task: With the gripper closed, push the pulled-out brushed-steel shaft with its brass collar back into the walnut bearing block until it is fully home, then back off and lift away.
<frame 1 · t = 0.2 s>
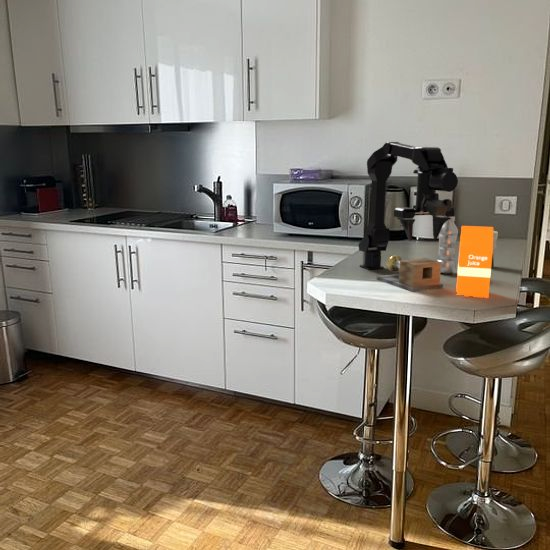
hand: (422, 239, 171), 14 cm above the countertop, tool pointing down, fingers open, 9 cm apart
character mug: (484, 267, 201), on the countertop
shaft: (404, 266, 176), point 5 cm above the countertop, slide at 0.0 cm
bearing block: (408, 283, 175), on the countertop
plastic bottle: (445, 273, 189), on the countertop
orange juice: (471, 294, 162), on the countertop
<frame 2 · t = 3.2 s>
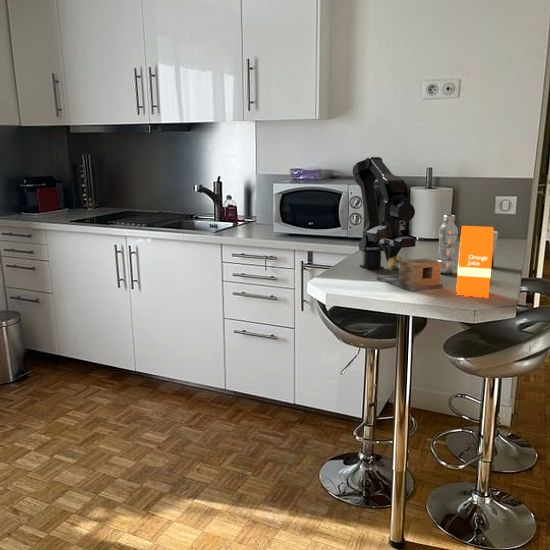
hand: (389, 264, 183), 4 cm above the countertop, tool pointing down, fingers closed
shaft: (404, 266, 176), point 5 cm above the countertop, slide at 0.3 cm, touching gripper
everything else where it was.
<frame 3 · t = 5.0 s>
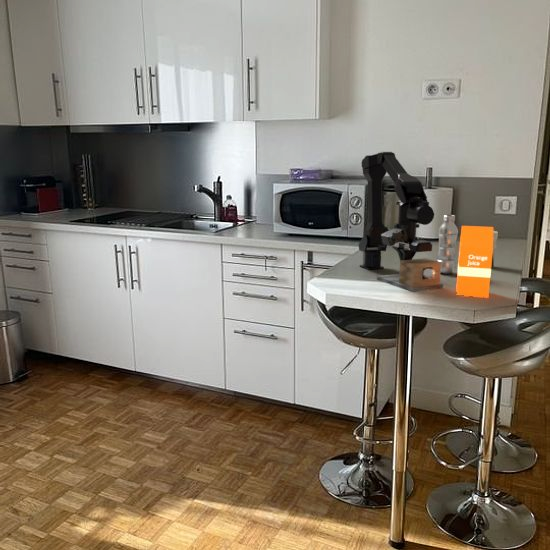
hand: (404, 269, 176), 4 cm above the countertop, tool pointing down, fingers closed
shaft: (420, 271, 169), point 5 cm above the countertop, slide at 8.1 cm, touching gripper
everything else where it was.
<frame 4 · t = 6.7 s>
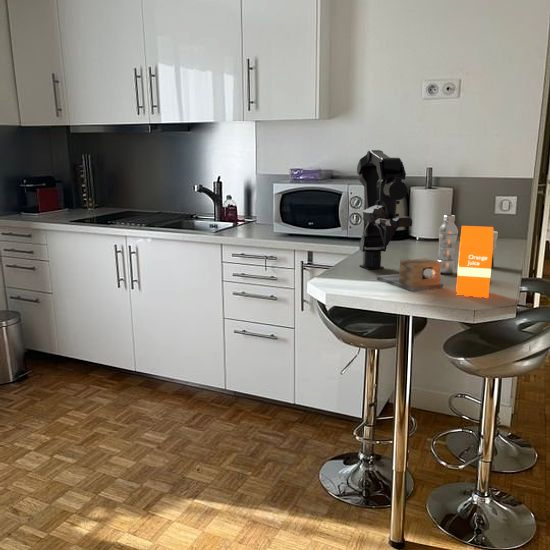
hand: (385, 245, 180), 11 cm above the countertop, tool pointing down, fingers closed
shaft: (420, 271, 169), point 5 cm above the countertop, slide at 8.0 cm
everything else where it was.
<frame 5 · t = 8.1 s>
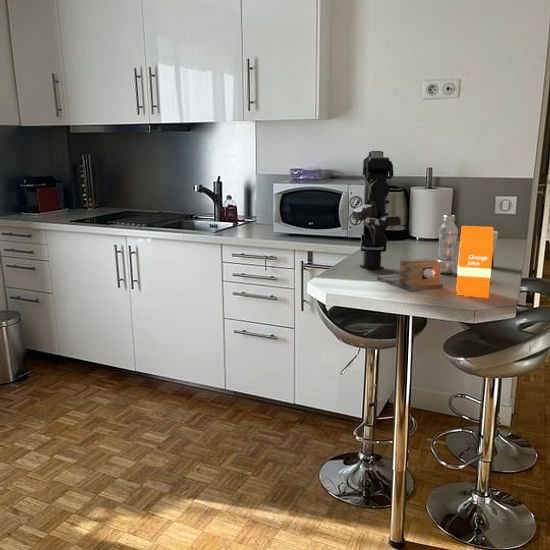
hand: (375, 244, 181), 11 cm above the countertop, tool pointing down, fingers closed
nothing on the countertop moved.
at the end: shaft slide at 8.0 cm; plastic bottle moved 0.2 cm from its start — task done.
